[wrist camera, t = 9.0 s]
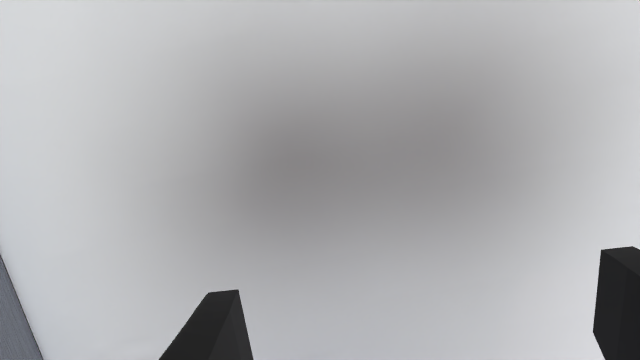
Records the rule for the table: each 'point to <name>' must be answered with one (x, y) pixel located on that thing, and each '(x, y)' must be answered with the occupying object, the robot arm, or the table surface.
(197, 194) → the table surface
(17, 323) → the rail
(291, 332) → the table surface
